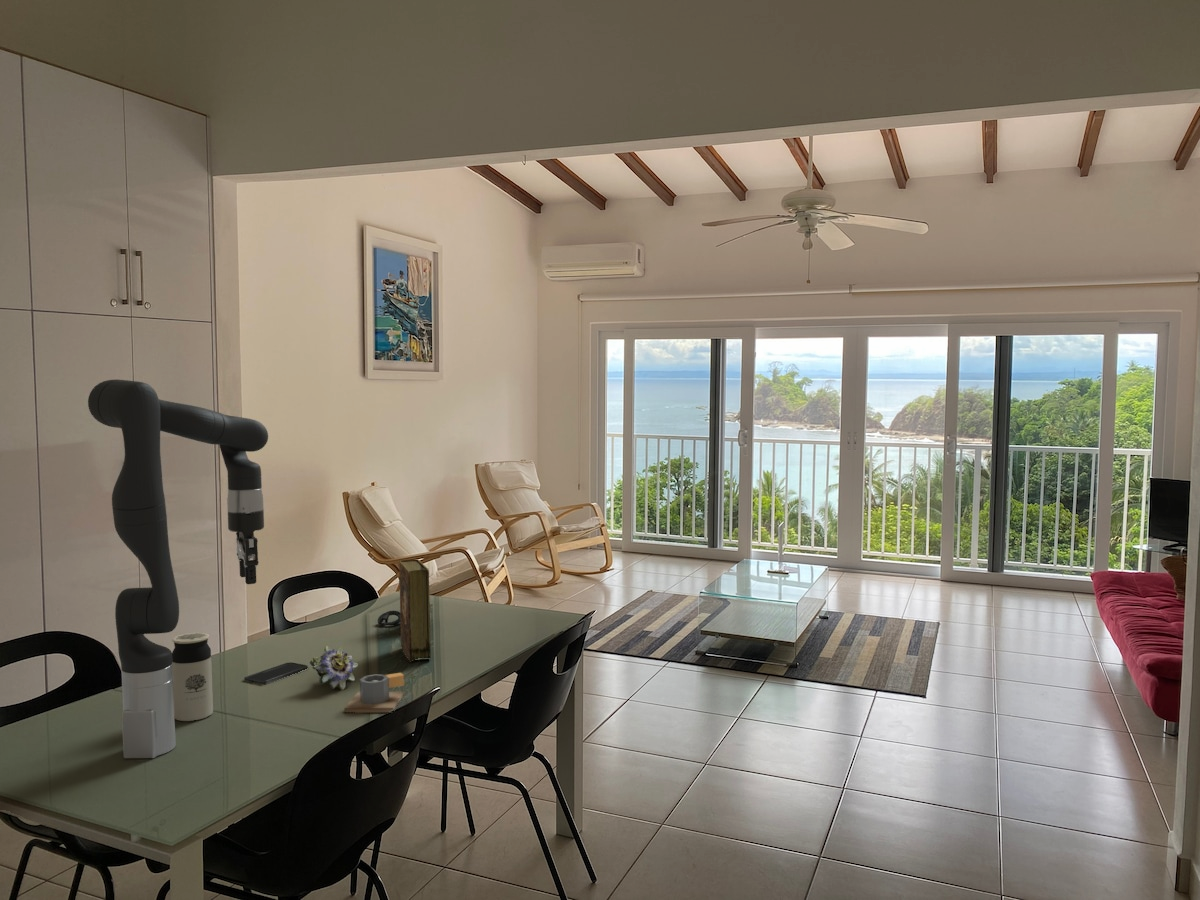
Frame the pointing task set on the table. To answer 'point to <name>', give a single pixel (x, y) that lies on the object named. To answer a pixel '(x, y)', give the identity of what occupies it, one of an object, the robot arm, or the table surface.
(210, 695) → the travel mug
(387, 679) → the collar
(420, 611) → the book
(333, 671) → the passion flower
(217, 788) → the table surface
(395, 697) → the base
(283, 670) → the phone
